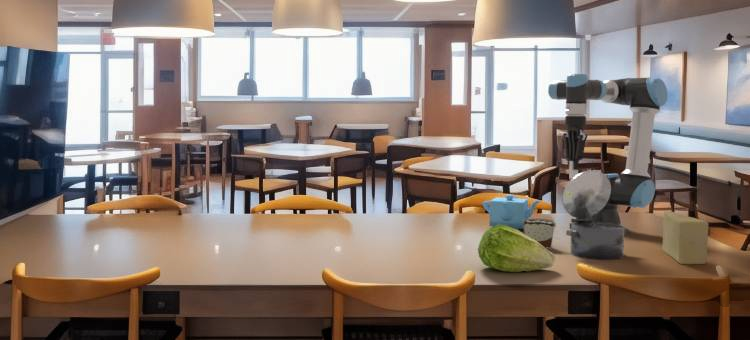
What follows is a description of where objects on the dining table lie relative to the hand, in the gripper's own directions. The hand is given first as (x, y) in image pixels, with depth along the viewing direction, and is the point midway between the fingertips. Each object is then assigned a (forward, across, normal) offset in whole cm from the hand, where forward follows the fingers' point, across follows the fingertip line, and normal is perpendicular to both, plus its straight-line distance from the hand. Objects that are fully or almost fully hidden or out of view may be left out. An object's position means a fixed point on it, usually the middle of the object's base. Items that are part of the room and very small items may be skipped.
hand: (573, 178), depth 265 cm
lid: (+6, +10, 0) cm, 12 cm away
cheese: (+26, +28, +25) cm, 46 cm away
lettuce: (+26, +31, -39) cm, 56 cm away
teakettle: (+26, -34, -8) cm, 44 cm away
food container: (+26, -1, -13) cm, 29 cm away
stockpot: (+25, +16, 0) cm, 30 cm away
